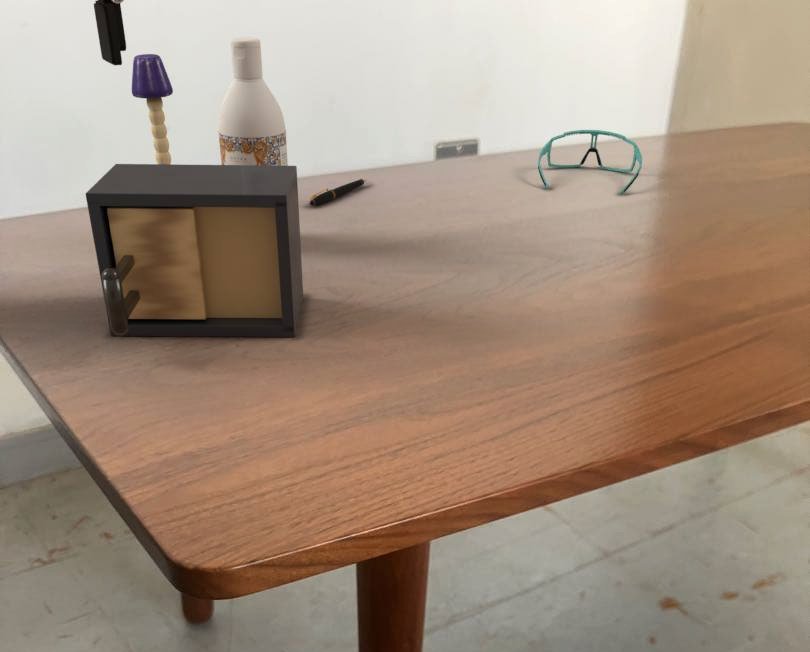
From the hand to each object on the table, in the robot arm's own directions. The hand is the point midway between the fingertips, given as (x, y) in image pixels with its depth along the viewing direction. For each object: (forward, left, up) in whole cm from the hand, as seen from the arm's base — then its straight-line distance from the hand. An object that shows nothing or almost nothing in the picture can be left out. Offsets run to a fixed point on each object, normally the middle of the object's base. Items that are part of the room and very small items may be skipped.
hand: (47, 66), depth 68 cm
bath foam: (+11, +27, -21) cm, 36 cm away
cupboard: (+9, +5, -21) cm, 23 cm away
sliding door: (+6, -2, -20) cm, 21 cm away
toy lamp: (-2, +41, -21) cm, 46 cm away
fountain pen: (+19, +47, -21) cm, 55 cm away
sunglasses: (+53, +57, -21) cm, 81 cm away
